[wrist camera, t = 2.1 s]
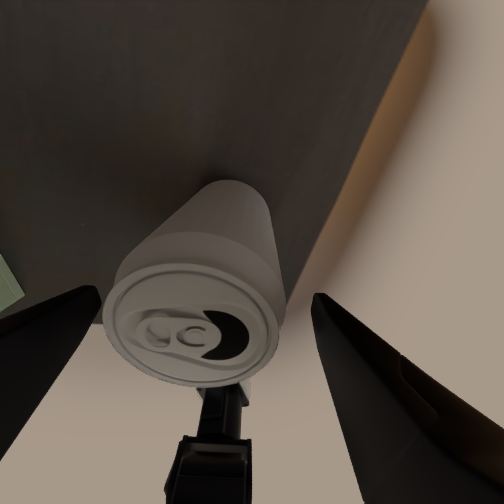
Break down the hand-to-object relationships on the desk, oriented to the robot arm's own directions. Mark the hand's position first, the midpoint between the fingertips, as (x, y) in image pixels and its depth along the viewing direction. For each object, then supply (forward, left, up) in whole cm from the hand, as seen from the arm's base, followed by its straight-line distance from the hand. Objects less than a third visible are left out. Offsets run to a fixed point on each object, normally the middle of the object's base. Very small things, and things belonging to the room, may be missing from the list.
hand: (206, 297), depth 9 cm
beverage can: (0, 0, -10) cm, 10 cm away
